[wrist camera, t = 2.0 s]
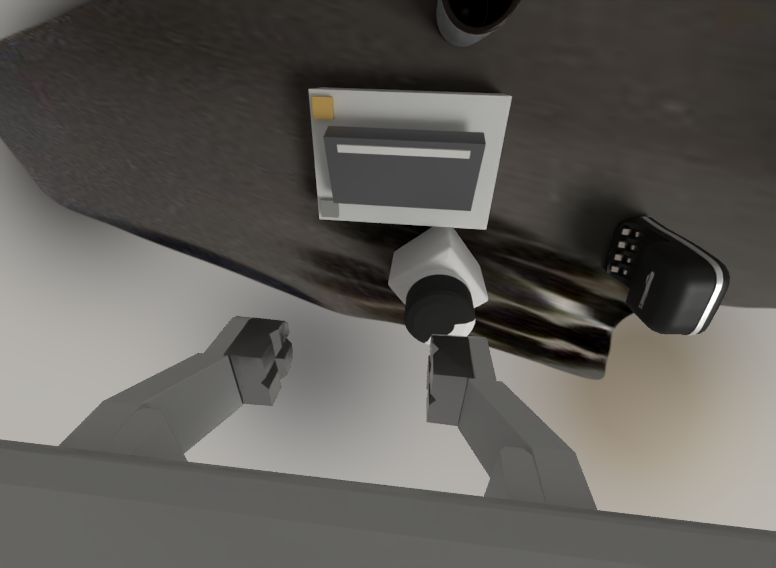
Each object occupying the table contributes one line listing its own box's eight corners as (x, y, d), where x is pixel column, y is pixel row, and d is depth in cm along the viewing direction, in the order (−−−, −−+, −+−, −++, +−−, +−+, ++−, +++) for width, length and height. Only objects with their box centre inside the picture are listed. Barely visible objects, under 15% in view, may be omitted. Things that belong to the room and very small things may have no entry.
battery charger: (610, 215, 34) (682, 271, 24) (651, 213, 33) (742, 269, 24) (594, 275, 38) (651, 344, 28) (631, 274, 37) (702, 345, 27)
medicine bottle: (392, 251, 39) (380, 315, 28) (446, 216, 36) (453, 273, 26) (428, 294, 41) (428, 367, 31) (480, 265, 38) (499, 334, 28)
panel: (502, 93, 29) (514, 96, 25) (480, 214, 35) (487, 232, 31) (321, 87, 31) (305, 89, 26) (329, 205, 36) (317, 222, 32)
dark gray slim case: (483, 132, 26) (485, 145, 24) (469, 198, 30) (470, 212, 29) (328, 125, 27) (322, 137, 25) (337, 191, 31) (333, 204, 30)
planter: (435, 48, 28) (438, 37, 20) (436, -24, 26) (441, -73, 17) (491, 45, 28) (520, 32, 19) (498, -29, 25) (534, -82, 17)
